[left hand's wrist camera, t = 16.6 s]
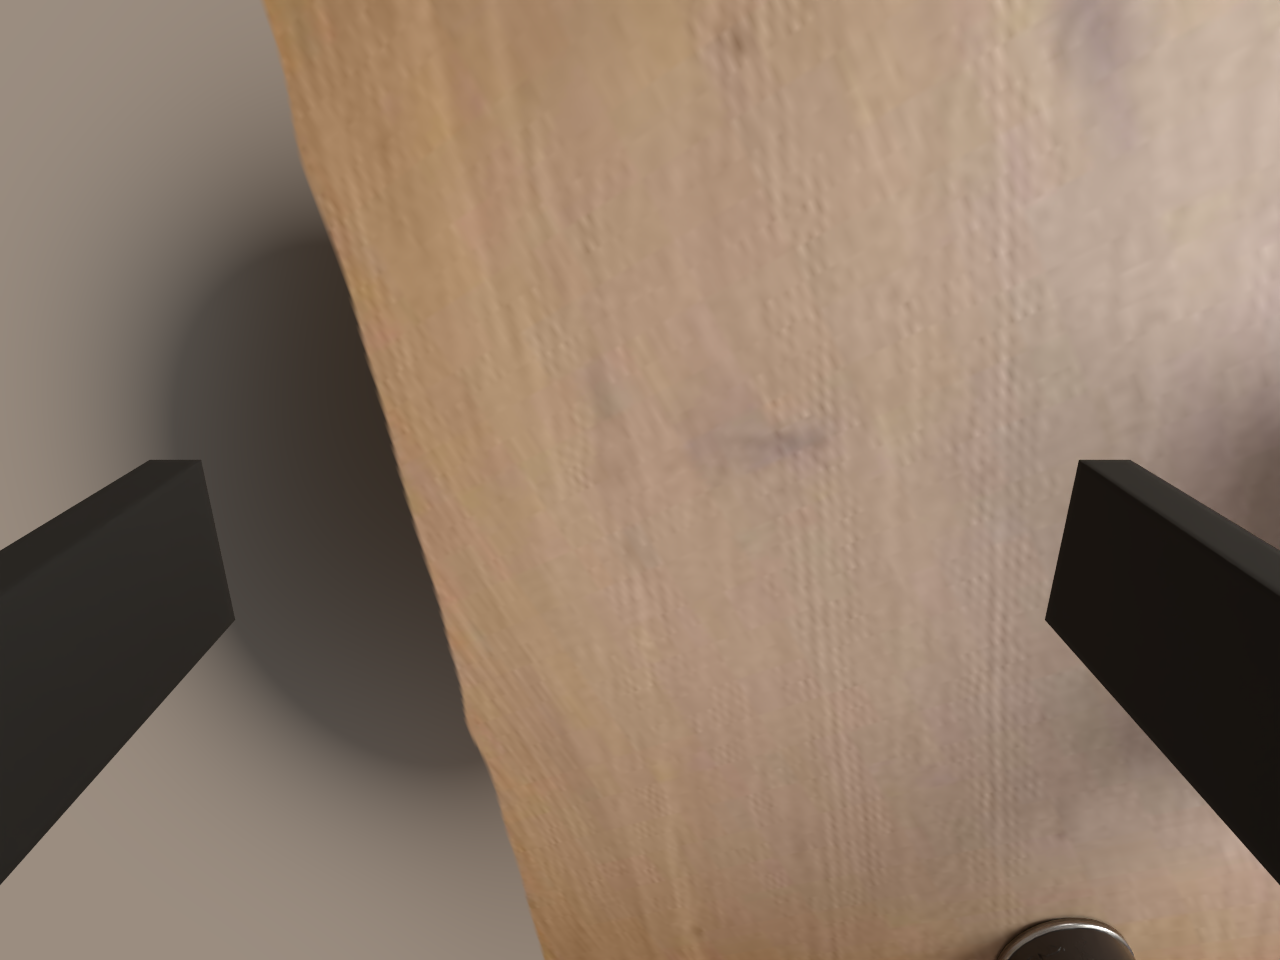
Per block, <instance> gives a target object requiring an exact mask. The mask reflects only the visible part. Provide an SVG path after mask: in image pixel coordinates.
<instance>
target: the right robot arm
mask: <svg viewBox="0 0 1280 960" xmlns="http://www.w3.org/2000/svg"><path fill="white" fill-rule="evenodd" d="M997 960H1135V958H1134V955H1133V952H1132V950H1131V949H1130V947H1129V945H1128V944H1127V942H1126V941H1125V939H1124V937H1123V936H1122V935H1121V934H1120V933H1119V932H1118V931H1117V930H1115V929H1114V928H1113V927H1111V926H1109V925H1107V924H1105V923H1102V922H1099V921H1096V920H1092V919H1086V918H1063V919H1057V920H1052V921H1048V922H1045V923H1042V924H1039V925H1036V926H1034V927H1032V928H1030V929H1028V930H1026V931H1024V932H1023V933H1021V934H1019V935H1018V936H1017V937H1015V938H1014V939H1013V940H1012V941H1011V942H1009V943H1008V945H1007V946H1006V947H1005V948H1004V949H1003V950H1002V952H1001V953H1000V955H999V957H998V959H997Z"/></svg>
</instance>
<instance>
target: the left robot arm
mask: <svg viewBox="0 0 1280 960" xmlns="http://www.w3.org/2000/svg"><path fill="white" fill-rule="evenodd" d="M234 620H235V617H234V613H233V608H232V603H231V598H230V594H229V589H228V584H227V580H226V575H225V570H224V566H223V561H222V556H221V552H220V547H219V542H218V538H217V533H216V528H215V523H214V519H213V514H212V509H211V505H210V500H209V495H208V491H207V486H206V481H205V476H204V472H203V467H202V462H201V460H149V461H147V462H146V463H144V464H142V465H141V466H139V467H137V468H136V469H134V470H133V471H131V472H129V473H128V474H126V475H124V476H123V477H121V478H119V479H118V480H116V481H114V482H113V483H111V484H109V485H108V486H106V487H104V488H103V489H101V490H99V491H98V492H96V493H94V494H93V495H91V496H90V497H88V498H86V499H85V500H83V501H81V502H80V503H78V504H76V505H75V506H73V507H71V508H70V509H68V510H66V511H65V512H63V513H62V514H60V515H58V516H57V517H55V518H53V519H52V520H50V521H48V522H47V523H45V524H43V525H42V526H40V527H38V528H37V529H35V530H34V531H32V532H30V533H29V534H27V535H25V536H24V537H22V538H20V539H19V540H17V541H15V542H14V543H12V544H10V545H9V546H7V547H5V548H4V549H2V550H1V551H0V885H1V883H2V882H3V881H4V880H5V879H6V878H7V877H8V876H9V874H10V873H11V872H12V871H13V870H14V869H15V868H16V867H17V865H18V864H19V863H20V862H21V861H22V860H23V859H24V858H25V856H26V855H27V854H28V853H29V852H30V851H31V850H32V848H33V847H34V846H35V845H36V844H37V843H38V842H39V841H40V839H41V838H42V837H43V836H44V835H45V834H46V833H47V832H48V830H49V829H50V828H51V827H52V826H53V825H54V824H55V823H56V821H57V820H58V819H59V818H60V817H61V816H62V815H63V813H64V812H65V811H66V810H67V809H68V808H69V807H70V806H71V804H72V803H73V802H74V801H75V800H76V799H77V798H78V797H79V795H80V794H81V793H82V792H83V791H84V790H85V789H86V787H87V786H88V785H89V784H90V783H91V782H92V781H93V780H94V778H95V777H96V776H97V775H98V774H99V773H100V772H101V771H102V769H103V768H104V767H105V766H106V765H107V764H108V763H109V761H110V760H111V759H112V758H113V757H114V756H115V755H116V754H117V753H118V751H119V750H120V749H121V748H122V747H123V746H124V745H125V743H126V742H127V741H128V740H129V739H130V738H131V737H132V735H133V734H134V733H135V732H136V731H137V730H138V729H139V728H140V727H141V725H142V724H143V723H144V722H145V721H146V720H147V719H148V717H149V716H150V715H151V714H152V713H153V712H154V711H155V710H156V708H157V707H158V706H159V705H160V704H161V703H162V702H163V701H164V699H165V698H166V697H167V696H168V695H169V694H170V693H171V691H172V690H173V689H174V688H175V687H176V686H177V685H178V684H179V682H180V681H181V680H182V679H183V678H184V677H185V676H186V675H187V673H188V672H189V671H190V670H191V669H192V668H193V667H194V666H195V664H196V663H197V662H198V661H199V660H200V659H201V658H202V656H203V655H204V654H205V653H206V652H207V651H208V650H209V649H210V648H211V646H212V645H213V644H214V643H215V642H216V641H217V640H218V638H219V637H220V636H221V635H222V634H223V633H224V632H225V631H226V629H227V628H228V627H229V626H230V625H231V624H232V623H233V622H234ZM1045 620H1046V622H1047V623H1048V624H1049V625H1050V626H1051V627H1052V628H1053V629H1054V631H1055V632H1056V633H1057V634H1058V635H1059V636H1060V637H1061V638H1062V640H1063V641H1064V642H1065V643H1066V644H1067V645H1068V646H1069V648H1070V649H1071V650H1072V651H1073V652H1074V653H1075V654H1076V655H1077V657H1078V658H1079V659H1080V660H1081V661H1082V662H1083V663H1084V664H1085V666H1086V667H1087V668H1088V669H1089V670H1090V671H1091V672H1092V673H1093V675H1094V676H1095V677H1096V678H1097V679H1098V680H1099V681H1100V683H1101V684H1102V685H1103V686H1104V687H1105V688H1106V689H1107V690H1108V692H1109V693H1110V694H1111V695H1112V696H1113V697H1114V698H1115V699H1116V701H1117V702H1118V703H1119V704H1120V705H1121V706H1122V707H1123V708H1124V710H1125V711H1126V712H1127V713H1128V714H1129V715H1130V716H1131V718H1132V719H1133V720H1134V721H1135V722H1136V723H1137V724H1138V725H1139V727H1140V728H1141V729H1142V730H1143V731H1144V732H1145V733H1146V734H1147V736H1148V737H1149V738H1150V739H1151V740H1152V741H1153V742H1154V743H1155V745H1156V746H1157V747H1158V748H1159V749H1160V750H1161V751H1162V753H1163V754H1164V755H1165V756H1166V757H1167V758H1168V759H1169V760H1170V762H1171V763H1172V764H1173V765H1174V766H1175V767H1176V768H1177V769H1178V771H1179V772H1180V773H1181V774H1182V775H1183V776H1184V777H1185V778H1186V780H1187V781H1188V782H1189V783H1190V784H1191V785H1192V786H1193V788H1194V789H1195V790H1196V791H1197V792H1198V793H1199V794H1200V795H1201V797H1202V798H1203V799H1204V800H1205V801H1206V802H1207V803H1208V804H1209V806H1210V807H1211V808H1212V809H1213V810H1214V811H1215V812H1216V813H1217V815H1218V816H1219V817H1220V818H1221V819H1222V820H1223V821H1224V823H1225V824H1226V825H1227V826H1228V827H1229V828H1230V829H1231V830H1232V832H1233V833H1234V834H1235V835H1236V836H1237V837H1238V838H1239V839H1240V841H1241V842H1242V843H1243V844H1244V845H1245V846H1246V847H1247V848H1248V850H1249V851H1250V852H1251V853H1252V854H1253V855H1254V856H1255V858H1256V859H1257V860H1258V861H1259V862H1260V863H1261V864H1262V865H1263V867H1264V868H1265V869H1266V870H1267V871H1268V872H1269V873H1270V874H1271V876H1272V877H1273V878H1274V879H1275V880H1276V881H1277V882H1278V883H1279V885H1280V551H1279V550H1278V549H1276V548H1275V547H1273V546H1271V545H1270V544H1268V543H1266V542H1265V541H1263V540H1261V539H1260V538H1258V537H1256V536H1255V535H1253V534H1251V533H1250V532H1248V531H1246V530H1245V529H1243V528H1242V527H1240V526H1238V525H1237V524H1235V523H1233V522H1232V521H1230V520H1228V519H1227V518H1225V517H1223V516H1222V515H1220V514H1218V513H1217V512H1215V511H1214V510H1212V509H1210V508H1209V507H1207V506H1205V505H1204V504H1202V503H1200V502H1199V501H1197V500H1195V499H1194V498H1192V497H1190V496H1189V495H1187V494H1186V493H1184V492H1182V491H1181V490H1179V489H1177V488H1176V487H1174V486H1172V485H1171V484H1169V483H1167V482H1166V481H1164V480H1162V479H1161V478H1159V477H1157V476H1156V475H1154V474H1153V473H1151V472H1149V471H1148V470H1146V469H1144V468H1143V467H1141V466H1139V465H1138V464H1136V463H1134V462H1133V461H1131V460H1079V462H1078V467H1077V472H1076V476H1075V481H1074V486H1073V491H1072V495H1071V500H1070V505H1069V509H1068V514H1067V519H1066V523H1065V528H1064V533H1063V537H1062V542H1061V547H1060V552H1059V556H1058V561H1057V566H1056V570H1055V575H1054V580H1053V584H1052V589H1051V594H1050V598H1049V603H1048V608H1047V613H1046V617H1045Z"/></svg>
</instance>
